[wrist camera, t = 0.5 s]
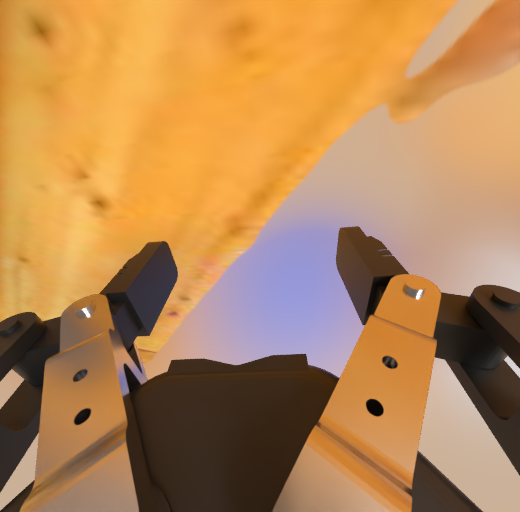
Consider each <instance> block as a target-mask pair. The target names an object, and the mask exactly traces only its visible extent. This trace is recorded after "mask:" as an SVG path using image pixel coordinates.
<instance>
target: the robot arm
mask: <svg viewBox="0 0 520 512" xmlns="http://www.w3.org/2000/svg"><path fill="white" fill-rule="evenodd" d="M336 264H337V269H338V271H339V273H340V276H341V278H342V280H343V282H344V285H345V287H346V289H347V291H348V293H349V296H350V298H351V300H352V302H353V305H354V307H355V309H356V311H357V313H358V315H359V318H360V320H361V322H362V324H363V325H365V327H364V330H363V331H362V333H361V335H360V338H359V340H358V342H357V344H356V346H355V348H354V350H353V352H352V355H351V356H350V358H349V360H348V362H347V365H346V367H345V369H344V371H343V373H342V375H341V377H340V378H338V377H337V376H335V375H333V374H332V373H330V372H327V371H326V370H323V369H321V368H318V367H315V366H311V365H308V363H307V357H306V354H294V355H273V356H269V357H265V358H262V359H258V360H255V361H252V362H248V363H245V364H241V365H231V364H226V363H221V362H217V361H212V360H207V359H184V360H172V361H171V363H170V366H169V369H168V371H167V372H165V373H163V374H160V375H158V376H155V377H154V378H152V379H150V380H148V379H147V376H146V373H145V370H144V367H143V364H142V361H141V357H140V354H139V351H138V348H137V346H136V344H135V342H134V341H135V339H136V337H137V336H150V334H151V332H152V330H153V327H154V325H155V323H156V321H157V319H158V317H159V315H160V313H161V311H162V309H163V307H164V305H165V303H166V301H167V299H168V297H169V295H170V293H171V291H172V289H173V287H174V285H175V283H176V281H177V277H178V271H177V267H176V264H175V261H174V259H173V256H172V253H171V250H170V248H169V245H168V243H167V242H165V241H161V242H149V243H147V244H146V245H145V247H144V248H143V249H142V250H141V251H140V253H139V254H137V255H135V256H134V257H133V258H131V259H130V260H128V261H127V263H126V264H125V265H124V266H123V267H122V268H123V269H121V270H120V271H119V272H118V273H117V275H115V276H114V278H113V279H112V280H111V281H110V282H109V283H108V284H107V286H106V287H105V288H104V289H103V290H102V291H101V293H100V294H95V295H90V296H87V297H84V298H82V299H80V300H78V301H76V302H74V303H73V304H71V305H70V306H69V307H68V308H67V309H66V310H65V311H64V312H63V313H62V315H61V317H57V318H54V319H50V320H47V321H43V322H42V321H41V319H40V318H39V317H38V316H37V315H36V314H35V313H33V312H25V313H20V314H17V315H14V316H12V317H9V318H7V319H5V320H3V321H1V322H0V381H1V380H2V379H3V378H4V377H5V375H6V374H7V373H8V372H9V371H10V370H11V369H13V370H14V371H15V372H16V373H18V374H19V375H20V376H21V377H22V378H24V379H25V380H24V381H23V382H22V383H21V385H20V386H19V387H18V388H17V390H16V391H15V392H14V394H13V395H12V396H11V397H10V398H9V399H8V401H7V402H6V403H5V404H4V406H3V407H2V408H1V409H0V492H1V491H2V489H3V487H4V486H5V484H6V482H7V481H8V480H9V478H10V476H11V475H12V473H13V472H14V470H15V469H16V467H17V466H18V464H19V462H20V461H21V459H22V458H23V456H24V455H25V453H26V451H27V449H28V448H29V447H30V445H31V443H32V442H33V440H34V439H35V437H36V436H37V434H38V433H39V438H38V449H37V460H36V471H35V480H34V481H33V482H32V483H31V484H29V485H28V486H27V487H26V488H25V489H24V490H23V491H22V492H21V493H19V494H18V495H17V496H16V497H15V498H14V499H13V500H12V501H11V502H10V503H9V504H7V505H6V506H5V507H4V508H3V509H2V510H1V511H0V512H483V511H482V510H481V509H479V508H478V507H477V506H476V505H475V504H474V503H473V502H472V501H471V500H470V499H469V498H468V497H467V496H466V495H465V494H464V493H462V492H461V491H460V490H459V489H458V488H457V487H456V486H455V485H454V484H453V483H452V482H451V481H450V480H449V479H448V478H447V477H446V476H445V475H443V474H442V473H441V472H440V471H439V470H438V469H437V468H436V467H435V466H434V465H433V464H432V463H431V462H430V461H429V460H428V459H427V458H425V457H424V456H423V455H422V454H421V453H420V452H419V451H418V446H419V440H420V434H421V429H422V424H423V418H424V412H425V407H426V401H427V396H428V390H429V384H430V379H431V373H432V368H433V362H434V357H436V358H441V359H445V360H446V362H447V363H448V365H449V366H450V368H451V370H452V371H453V373H454V374H455V375H456V377H457V379H458V380H459V382H460V383H461V385H462V386H463V388H464V390H465V391H466V393H467V394H468V396H469V397H470V399H471V400H472V402H473V404H474V405H475V407H476V408H477V410H478V411H479V413H480V415H481V416H482V418H483V419H484V421H485V422H486V424H487V425H488V427H489V429H490V430H491V432H492V433H493V435H494V436H495V438H496V439H497V441H498V442H499V444H500V446H501V447H502V449H503V450H504V451H505V453H506V455H507V456H508V458H509V459H510V461H511V463H512V464H513V466H514V467H515V469H516V470H517V472H518V474H519V475H520V378H519V377H518V376H517V374H516V373H515V372H514V371H513V370H512V369H511V368H510V366H509V365H508V364H507V363H506V362H505V361H504V359H505V358H506V357H507V356H509V357H510V358H511V359H512V360H513V361H514V363H515V364H516V365H517V366H518V367H519V368H520V293H519V292H517V291H514V290H511V289H509V288H505V287H501V286H496V285H482V286H478V287H476V288H475V289H474V290H473V292H472V294H471V296H470V297H468V296H461V295H454V294H447V293H441V292H440V290H439V288H438V287H437V286H436V285H435V284H434V283H432V282H431V281H429V280H427V279H425V278H423V277H419V276H416V275H410V274H409V273H408V272H407V271H406V270H405V269H404V268H403V267H402V265H401V264H400V263H399V262H398V261H397V260H396V258H395V257H394V256H392V254H391V253H390V251H389V250H387V248H386V247H385V246H384V244H383V243H382V242H381V241H379V240H377V239H375V238H373V237H372V236H369V237H367V236H366V235H365V234H364V232H362V230H361V229H360V227H358V226H357V227H344V228H340V230H339V236H338V246H337V255H336Z"/></svg>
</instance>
